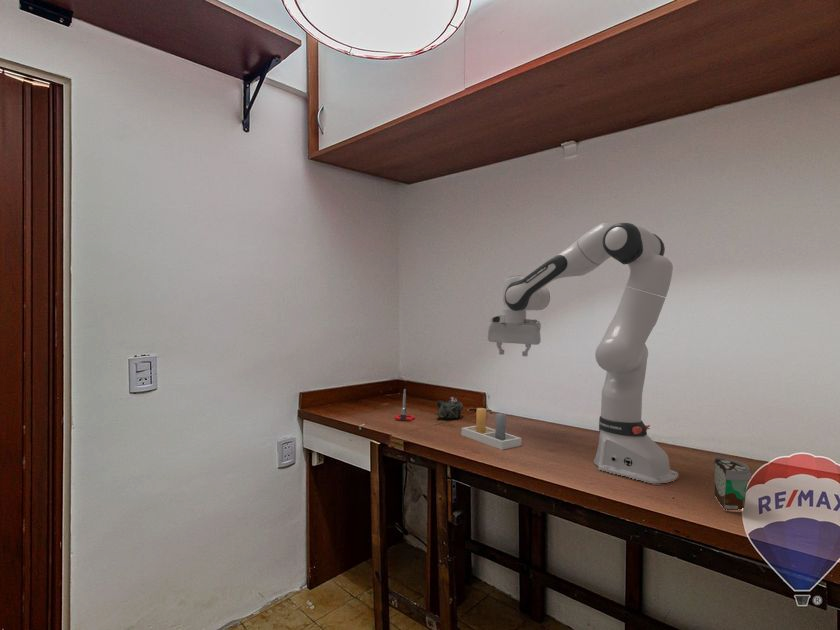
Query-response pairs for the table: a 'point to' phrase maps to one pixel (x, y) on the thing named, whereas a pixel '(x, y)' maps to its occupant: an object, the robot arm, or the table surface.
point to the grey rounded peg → (500, 426)
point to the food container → (730, 482)
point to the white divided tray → (491, 438)
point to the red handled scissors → (404, 411)
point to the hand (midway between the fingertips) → (513, 355)
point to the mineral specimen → (449, 409)
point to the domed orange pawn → (481, 420)
